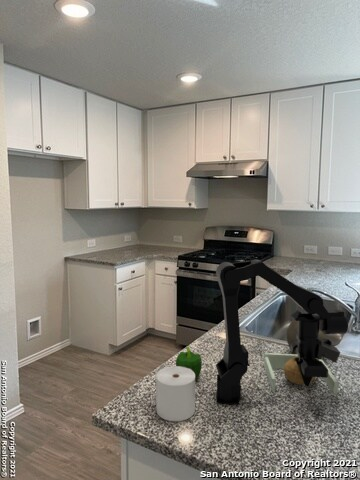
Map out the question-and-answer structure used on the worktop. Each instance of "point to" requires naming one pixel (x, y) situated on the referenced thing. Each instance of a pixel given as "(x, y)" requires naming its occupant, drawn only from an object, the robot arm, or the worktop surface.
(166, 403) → the toilet tissue
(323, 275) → the worktop surface
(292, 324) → the cantaloupe
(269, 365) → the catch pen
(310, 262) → the worktop surface
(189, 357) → the bell pepper
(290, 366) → the potato
